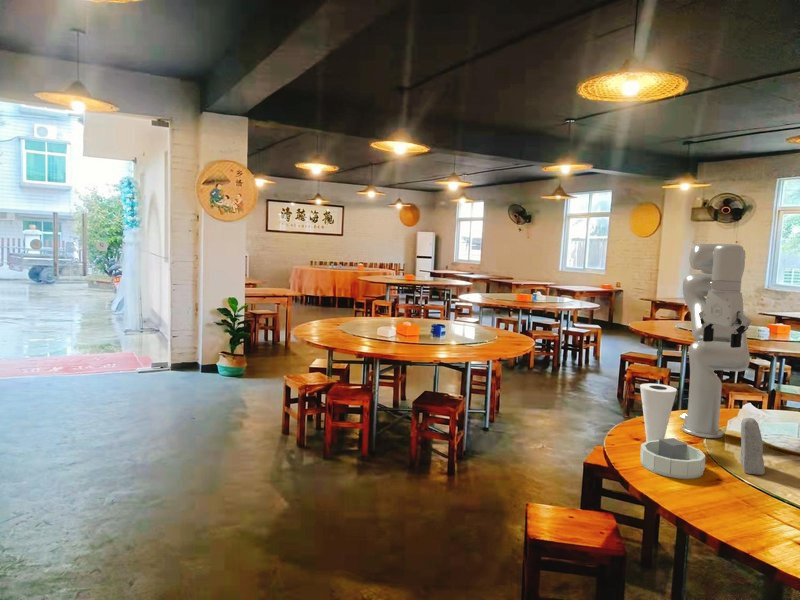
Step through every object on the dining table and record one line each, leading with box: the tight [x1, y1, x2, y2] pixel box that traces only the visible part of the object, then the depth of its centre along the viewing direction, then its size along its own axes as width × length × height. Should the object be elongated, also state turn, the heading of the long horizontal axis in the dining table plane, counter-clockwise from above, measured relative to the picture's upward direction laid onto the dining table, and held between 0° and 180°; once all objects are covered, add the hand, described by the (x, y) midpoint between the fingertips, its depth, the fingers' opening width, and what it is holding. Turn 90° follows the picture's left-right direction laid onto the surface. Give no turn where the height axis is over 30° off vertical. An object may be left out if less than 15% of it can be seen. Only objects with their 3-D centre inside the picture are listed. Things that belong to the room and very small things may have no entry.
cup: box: [639, 382, 678, 442], centre depth 174 cm, size 11×11×18 cm
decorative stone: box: [740, 417, 766, 476], centre depth 155 cm, size 11×6×15 cm, turn 156°
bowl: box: [639, 440, 706, 480], centre depth 155 cm, size 16×16×5 cm
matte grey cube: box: [658, 437, 688, 460], centre depth 155 cm, size 5×5×6 cm
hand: (721, 344), depth 161 cm, fingers open, 9 cm apart
